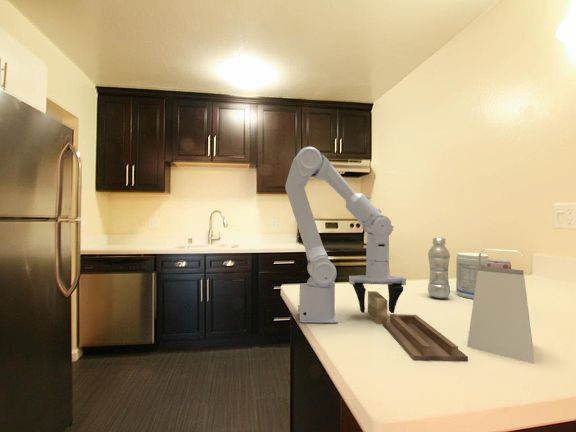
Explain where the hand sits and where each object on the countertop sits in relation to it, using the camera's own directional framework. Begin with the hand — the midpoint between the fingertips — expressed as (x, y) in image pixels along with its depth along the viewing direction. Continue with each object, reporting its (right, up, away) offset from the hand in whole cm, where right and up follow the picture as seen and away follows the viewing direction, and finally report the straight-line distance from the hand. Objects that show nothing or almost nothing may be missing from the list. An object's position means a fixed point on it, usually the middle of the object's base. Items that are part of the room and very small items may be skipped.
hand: (376, 311), depth 77 cm
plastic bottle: (+27, -2, +21) cm, 34 cm away
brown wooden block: (0, -2, 0) cm, 2 cm away
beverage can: (+37, -2, +7) cm, 38 cm away
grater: (+21, -2, -16) cm, 26 cm away
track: (+5, -2, -14) cm, 15 cm away
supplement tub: (+40, -3, +24) cm, 47 cm away
